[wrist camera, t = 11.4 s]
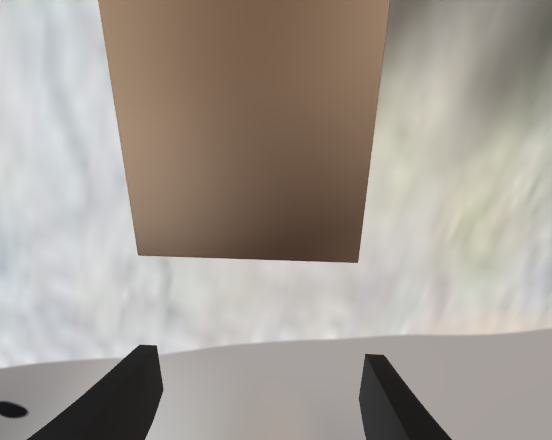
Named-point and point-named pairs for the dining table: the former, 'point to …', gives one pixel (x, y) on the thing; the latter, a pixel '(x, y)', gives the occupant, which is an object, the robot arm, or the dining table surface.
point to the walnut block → (246, 123)
